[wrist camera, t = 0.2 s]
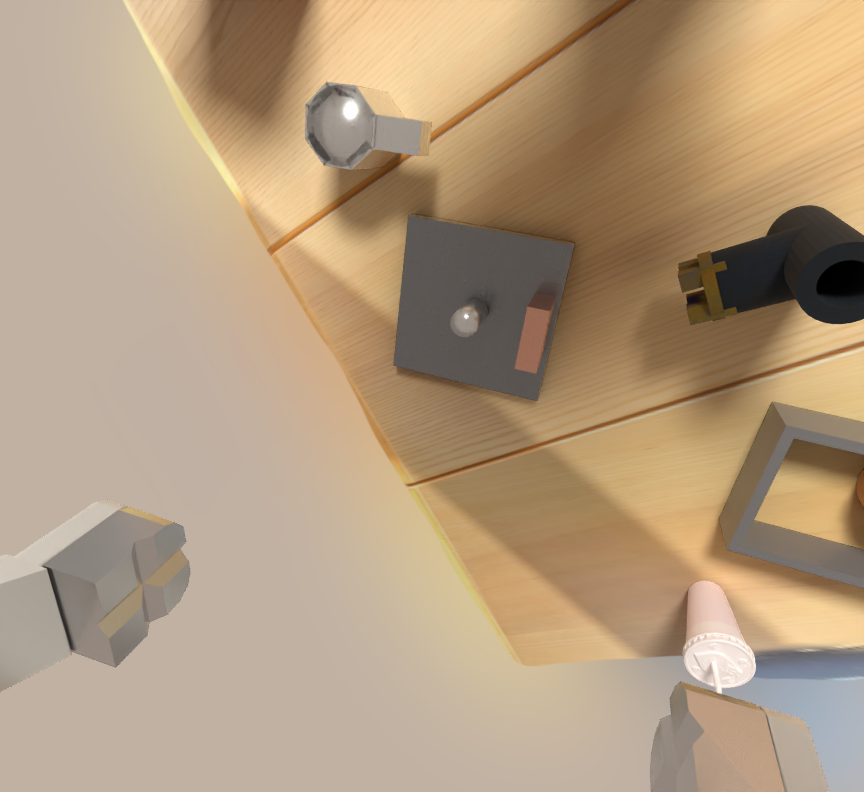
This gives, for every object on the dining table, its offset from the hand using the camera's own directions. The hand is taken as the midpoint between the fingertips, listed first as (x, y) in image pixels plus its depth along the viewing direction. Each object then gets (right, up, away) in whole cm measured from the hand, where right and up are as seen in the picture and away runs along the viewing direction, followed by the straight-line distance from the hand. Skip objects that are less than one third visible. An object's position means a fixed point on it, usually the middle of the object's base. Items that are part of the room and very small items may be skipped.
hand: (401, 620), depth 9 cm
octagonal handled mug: (-3, +29, +43) cm, 52 cm away
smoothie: (+31, -19, +53) cm, 64 cm away
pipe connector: (+28, +16, +38) cm, 50 cm away
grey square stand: (+5, +13, +48) cm, 49 cm away
